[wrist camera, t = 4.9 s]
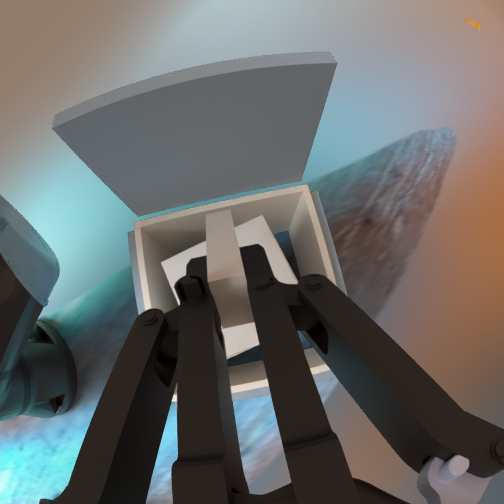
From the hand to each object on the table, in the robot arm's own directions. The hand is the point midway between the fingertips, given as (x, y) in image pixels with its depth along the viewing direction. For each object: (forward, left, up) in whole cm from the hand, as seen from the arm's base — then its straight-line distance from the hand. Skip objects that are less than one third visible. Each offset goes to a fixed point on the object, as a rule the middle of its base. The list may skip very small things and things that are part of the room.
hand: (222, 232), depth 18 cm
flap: (0, +6, -7) cm, 9 cm away
